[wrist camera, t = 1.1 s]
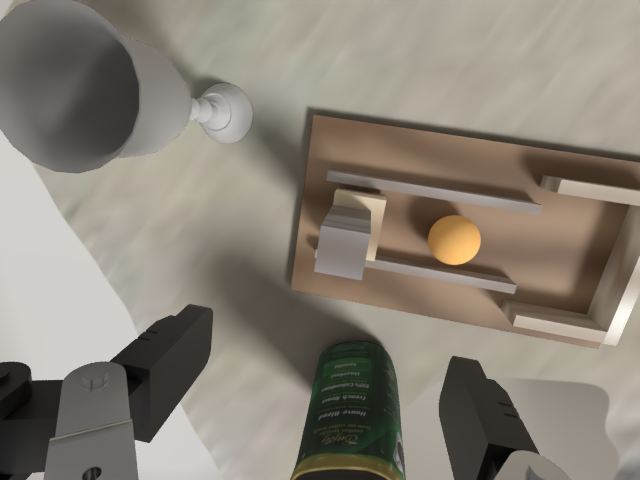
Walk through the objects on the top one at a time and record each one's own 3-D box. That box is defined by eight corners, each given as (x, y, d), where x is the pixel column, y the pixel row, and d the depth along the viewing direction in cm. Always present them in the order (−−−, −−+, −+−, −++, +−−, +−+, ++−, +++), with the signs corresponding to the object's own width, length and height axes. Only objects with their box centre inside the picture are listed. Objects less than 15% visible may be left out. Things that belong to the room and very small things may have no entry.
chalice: (205, 165, 34) (36, 196, 17) (173, 92, 33) (-48, 45, 16) (277, 135, 32) (169, 136, 15) (246, 57, 31) (89, -39, 14)
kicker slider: (338, 186, 31) (323, 209, 22) (385, 194, 31) (390, 220, 22) (329, 242, 33) (312, 286, 23) (374, 250, 33) (374, 298, 23)
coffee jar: (311, 341, 38) (257, 525, 20) (389, 334, 36) (406, 524, 18) (328, 420, 40) (293, 647, 22) (402, 416, 39) (428, 655, 21)
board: (315, 115, 32) (307, 112, 28) (664, 166, 29) (708, 171, 25) (292, 285, 36) (283, 303, 32) (591, 342, 34) (620, 369, 30)
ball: (430, 207, 31) (438, 217, 28) (478, 215, 31) (493, 226, 27) (420, 251, 32) (426, 266, 29) (466, 259, 32) (479, 276, 28)
